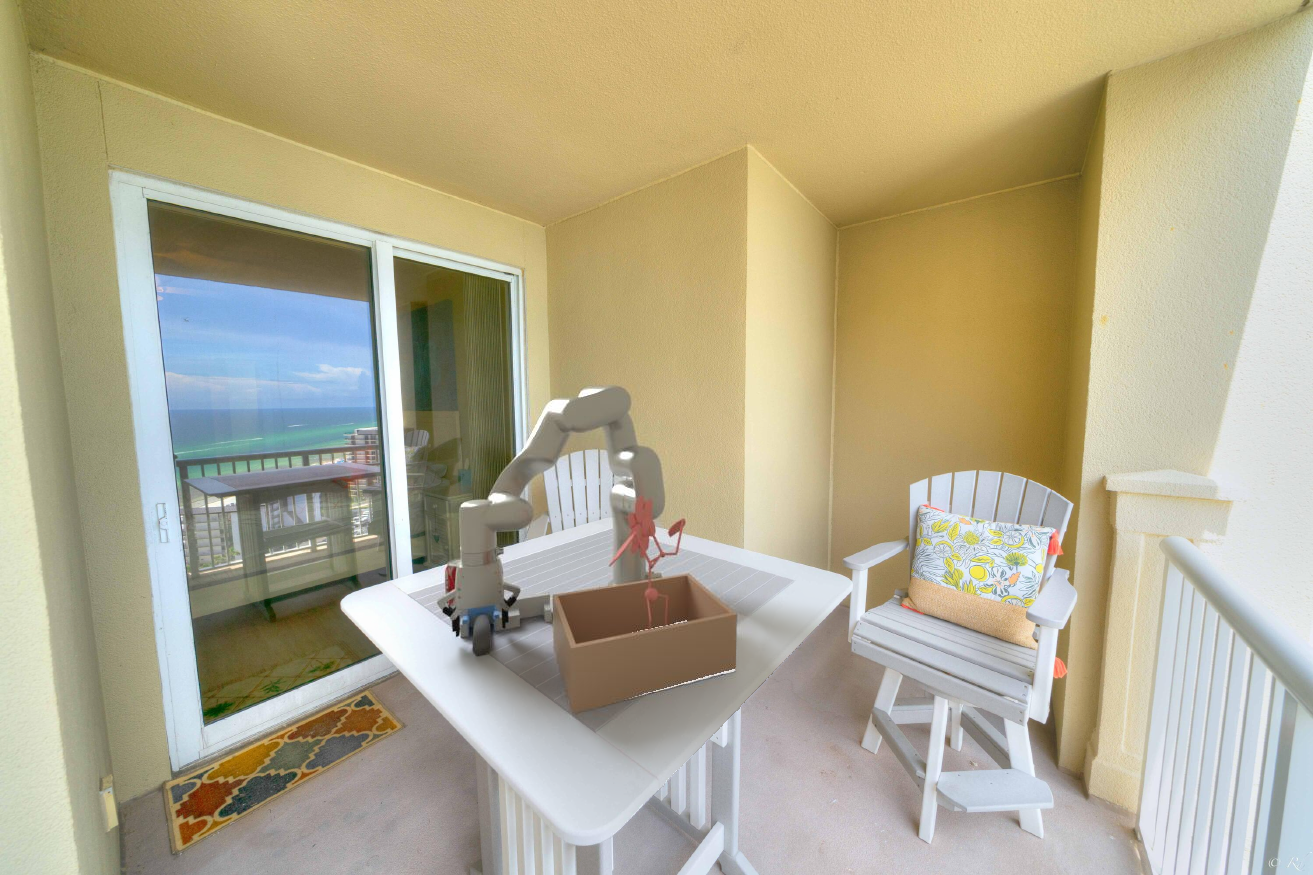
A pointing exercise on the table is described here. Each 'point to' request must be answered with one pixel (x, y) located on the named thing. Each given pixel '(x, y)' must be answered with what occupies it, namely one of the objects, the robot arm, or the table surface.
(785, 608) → the table surface
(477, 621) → the grey cylindrical rod
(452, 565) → the soda can
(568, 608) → the open brown box
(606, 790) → the table surface
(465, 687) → the table surface
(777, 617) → the table surface
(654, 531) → the figurine
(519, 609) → the panel with blue tabs
